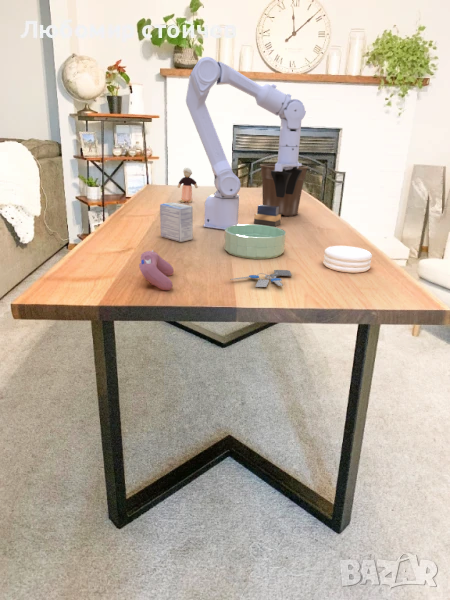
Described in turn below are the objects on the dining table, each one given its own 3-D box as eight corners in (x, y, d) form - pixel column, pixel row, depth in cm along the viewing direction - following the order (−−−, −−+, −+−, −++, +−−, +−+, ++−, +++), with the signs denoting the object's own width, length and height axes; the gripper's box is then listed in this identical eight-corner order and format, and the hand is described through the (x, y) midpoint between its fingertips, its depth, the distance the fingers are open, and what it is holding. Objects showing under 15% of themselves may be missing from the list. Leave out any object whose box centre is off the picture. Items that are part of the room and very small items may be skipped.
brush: (253, 223, 136) (254, 205, 134) (259, 221, 140) (260, 203, 138) (275, 226, 133) (276, 208, 131) (280, 224, 137) (281, 206, 135)
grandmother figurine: (177, 202, 168) (177, 167, 163) (177, 200, 172) (177, 166, 167) (197, 203, 169) (198, 168, 164) (197, 201, 172) (197, 167, 168)
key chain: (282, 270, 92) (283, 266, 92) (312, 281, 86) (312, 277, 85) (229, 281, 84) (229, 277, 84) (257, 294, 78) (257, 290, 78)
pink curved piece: (155, 281, 87) (137, 250, 85) (175, 271, 87) (158, 240, 84) (151, 299, 78) (132, 265, 76) (174, 289, 78) (155, 254, 75)
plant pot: (271, 207, 165) (275, 162, 159) (311, 213, 156) (316, 165, 150) (248, 213, 153) (250, 164, 147) (289, 219, 144) (294, 168, 138)
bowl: (213, 253, 103) (214, 232, 101) (240, 241, 115) (240, 222, 113) (270, 263, 97) (272, 240, 95) (292, 249, 109) (293, 229, 107)
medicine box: (193, 240, 114) (193, 206, 111) (180, 242, 111) (180, 208, 108) (173, 234, 119) (172, 202, 116) (160, 237, 116) (159, 203, 113)
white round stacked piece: (313, 262, 99) (315, 246, 98) (350, 258, 103) (352, 243, 101) (341, 275, 90) (343, 258, 89) (379, 271, 94) (382, 255, 93)
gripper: (294, 147, 116) (289, 199, 121) (310, 146, 128) (305, 194, 133) (269, 146, 119) (265, 197, 124) (287, 145, 131) (283, 191, 136)
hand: (284, 195), depth 129 cm, fingers open, 7 cm apart
